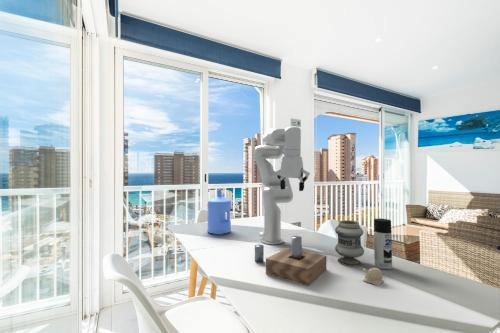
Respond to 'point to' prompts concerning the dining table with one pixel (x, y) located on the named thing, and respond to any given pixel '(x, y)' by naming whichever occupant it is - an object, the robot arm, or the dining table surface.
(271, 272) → the hole block
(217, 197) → the water jug
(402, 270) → the dining table surface
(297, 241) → the tall pin
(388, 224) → the spray can
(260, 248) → the short pin
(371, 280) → the decorative ornament
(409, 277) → the dining table surface
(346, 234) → the apothecary jar
